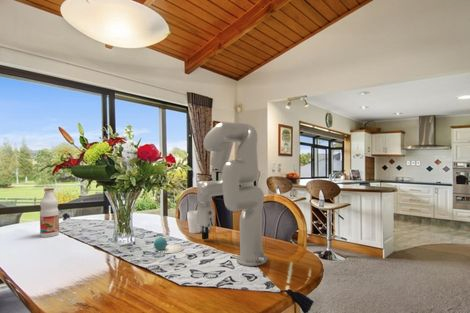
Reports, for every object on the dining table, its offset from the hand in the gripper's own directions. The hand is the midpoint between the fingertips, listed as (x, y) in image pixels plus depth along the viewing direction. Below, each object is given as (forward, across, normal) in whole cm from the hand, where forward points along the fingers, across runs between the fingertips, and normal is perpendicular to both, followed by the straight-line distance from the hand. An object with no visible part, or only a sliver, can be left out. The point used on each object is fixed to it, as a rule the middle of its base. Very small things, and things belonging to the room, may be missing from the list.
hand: (205, 238), depth 151 cm
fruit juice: (+1, +74, +61) cm, 96 cm away
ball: (-2, +2, +24) cm, 24 cm away
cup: (+1, +20, -6) cm, 21 cm away
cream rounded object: (+1, 0, +20) cm, 20 cm away
